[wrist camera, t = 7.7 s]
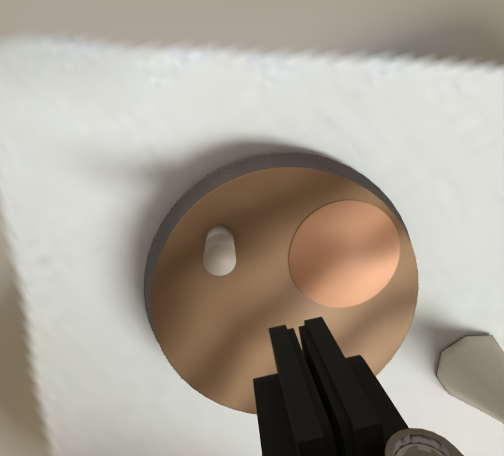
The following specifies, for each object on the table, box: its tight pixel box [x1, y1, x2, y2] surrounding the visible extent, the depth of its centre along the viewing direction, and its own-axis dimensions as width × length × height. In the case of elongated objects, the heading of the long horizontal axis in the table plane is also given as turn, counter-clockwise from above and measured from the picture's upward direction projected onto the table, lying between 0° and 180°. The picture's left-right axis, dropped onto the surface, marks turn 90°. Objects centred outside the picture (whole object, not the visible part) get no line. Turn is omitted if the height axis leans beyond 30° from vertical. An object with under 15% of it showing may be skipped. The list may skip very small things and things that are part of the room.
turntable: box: [150, 166, 418, 414], centre depth 26 cm, size 22×22×7 cm
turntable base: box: [144, 152, 411, 343], centre depth 29 cm, size 26×24×4 cm
